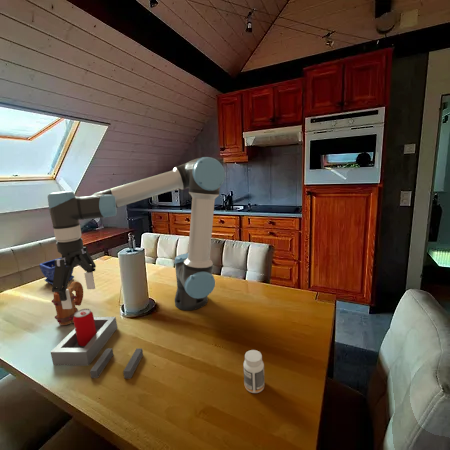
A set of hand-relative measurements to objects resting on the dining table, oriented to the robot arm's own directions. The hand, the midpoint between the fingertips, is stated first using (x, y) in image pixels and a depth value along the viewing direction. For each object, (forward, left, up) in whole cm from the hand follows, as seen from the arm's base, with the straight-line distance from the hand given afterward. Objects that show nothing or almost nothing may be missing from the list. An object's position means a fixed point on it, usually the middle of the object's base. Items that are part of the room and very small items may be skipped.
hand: (80, 298), depth 91 cm
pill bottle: (-59, +17, -19) cm, 64 cm away
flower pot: (+50, -55, -19) cm, 77 cm away
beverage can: (0, 0, -18) cm, 18 cm away
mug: (+17, -17, -19) cm, 31 cm away
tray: (0, 0, -19) cm, 19 cm away
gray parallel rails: (-16, +10, -19) cm, 26 cm away
